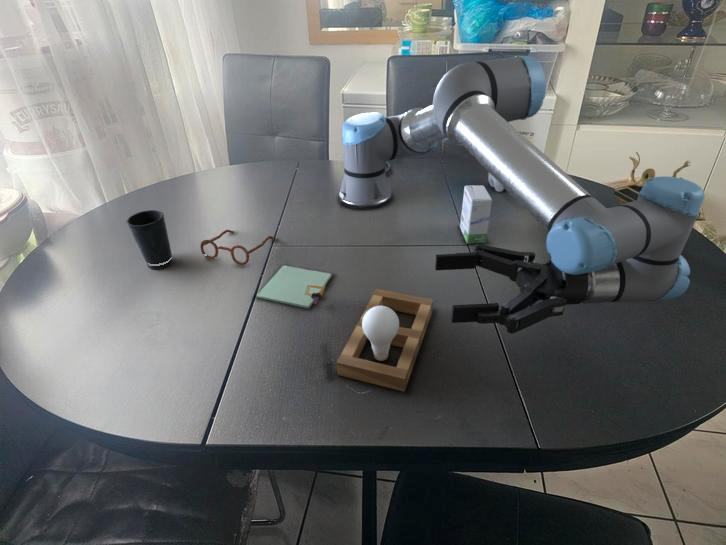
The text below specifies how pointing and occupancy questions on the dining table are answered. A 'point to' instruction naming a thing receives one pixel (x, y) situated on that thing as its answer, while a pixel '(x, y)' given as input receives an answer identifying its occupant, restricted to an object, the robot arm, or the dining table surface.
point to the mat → (293, 286)
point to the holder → (404, 338)
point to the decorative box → (631, 191)
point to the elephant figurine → (495, 183)
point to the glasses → (231, 248)
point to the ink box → (475, 214)
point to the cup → (151, 237)
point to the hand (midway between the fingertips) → (443, 286)
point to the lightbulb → (380, 329)
